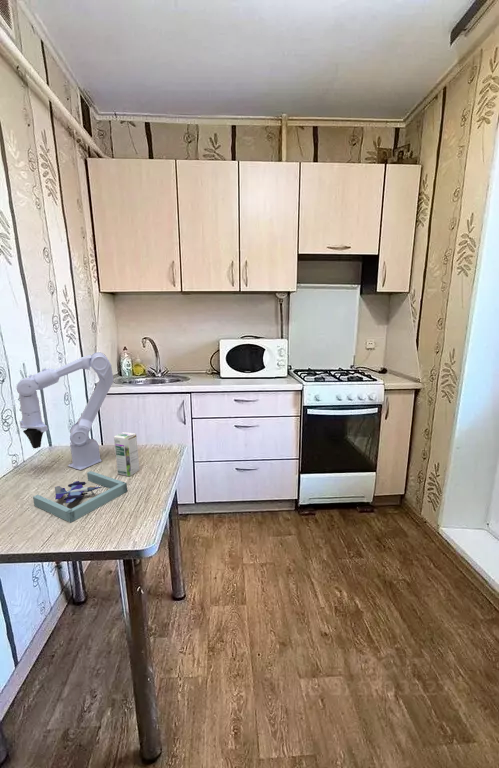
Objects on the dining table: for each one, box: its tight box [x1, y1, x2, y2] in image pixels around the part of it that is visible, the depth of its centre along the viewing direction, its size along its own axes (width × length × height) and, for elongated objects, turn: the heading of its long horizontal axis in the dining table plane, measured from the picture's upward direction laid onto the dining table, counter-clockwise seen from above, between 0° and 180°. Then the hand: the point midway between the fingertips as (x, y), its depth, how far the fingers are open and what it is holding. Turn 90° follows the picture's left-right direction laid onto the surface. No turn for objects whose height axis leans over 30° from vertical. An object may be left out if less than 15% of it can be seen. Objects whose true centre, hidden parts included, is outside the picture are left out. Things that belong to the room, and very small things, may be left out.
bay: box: [32, 470, 128, 523], centre depth 114 cm, size 20×18×3 cm
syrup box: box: [113, 431, 141, 477], centre depth 131 cm, size 6×6×14 cm
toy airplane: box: [54, 480, 107, 504], centre depth 115 cm, size 13×14×4 cm
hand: (36, 447), depth 132 cm, fingers closed
